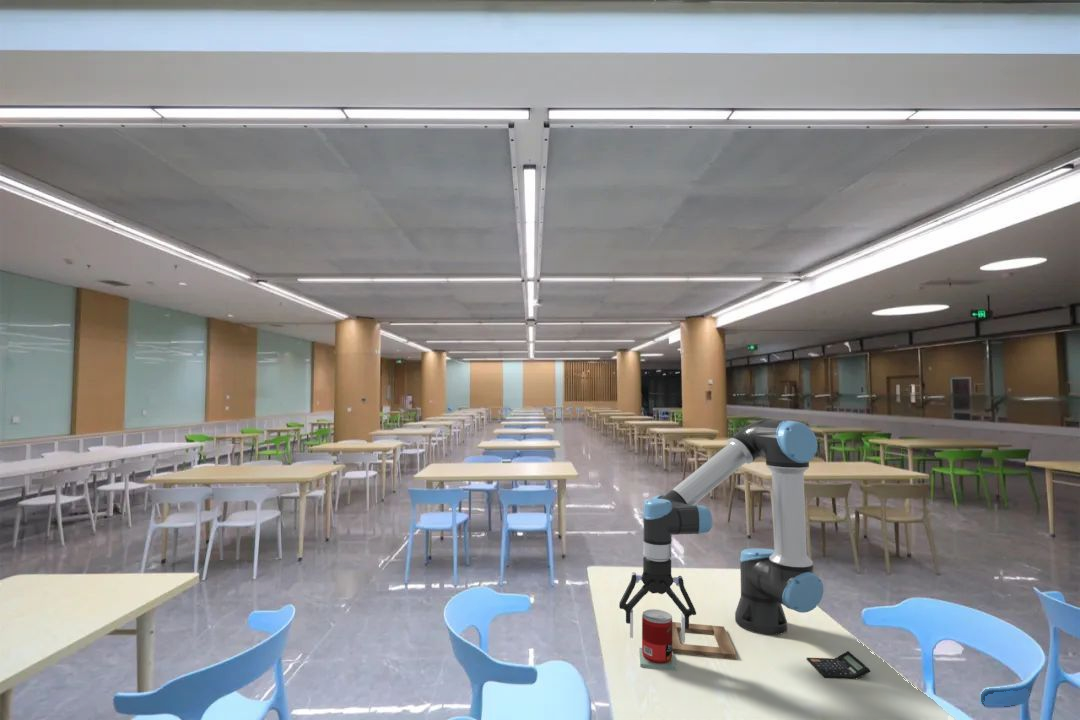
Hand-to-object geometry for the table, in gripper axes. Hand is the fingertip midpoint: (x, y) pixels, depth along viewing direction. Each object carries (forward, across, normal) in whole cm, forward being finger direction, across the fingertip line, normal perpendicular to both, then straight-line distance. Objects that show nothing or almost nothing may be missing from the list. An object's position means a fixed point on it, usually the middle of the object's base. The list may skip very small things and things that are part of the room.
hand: (656, 638), depth 139 cm
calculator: (+6, -47, -5) cm, 48 cm away
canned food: (+5, 0, 0) cm, 5 cm away
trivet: (+6, 0, 0) cm, 6 cm away
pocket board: (+6, -12, -14) cm, 20 cm away
